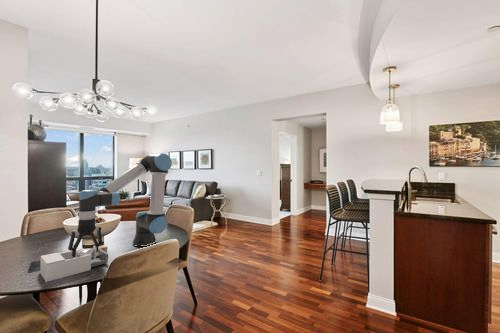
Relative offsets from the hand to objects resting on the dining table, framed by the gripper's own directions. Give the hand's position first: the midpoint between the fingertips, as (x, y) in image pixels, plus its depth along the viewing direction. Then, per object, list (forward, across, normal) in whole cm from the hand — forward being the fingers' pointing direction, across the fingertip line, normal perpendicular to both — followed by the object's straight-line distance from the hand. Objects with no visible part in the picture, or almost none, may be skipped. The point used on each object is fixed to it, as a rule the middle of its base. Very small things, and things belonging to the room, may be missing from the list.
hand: (85, 260), depth 126 cm
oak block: (+3, -12, -12) cm, 17 cm away
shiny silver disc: (-3, 0, 0) cm, 3 cm away
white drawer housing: (+3, +8, 0) cm, 9 cm away
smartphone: (+4, +16, -18) cm, 25 cm away
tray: (+2, -1, 0) cm, 3 cm away
